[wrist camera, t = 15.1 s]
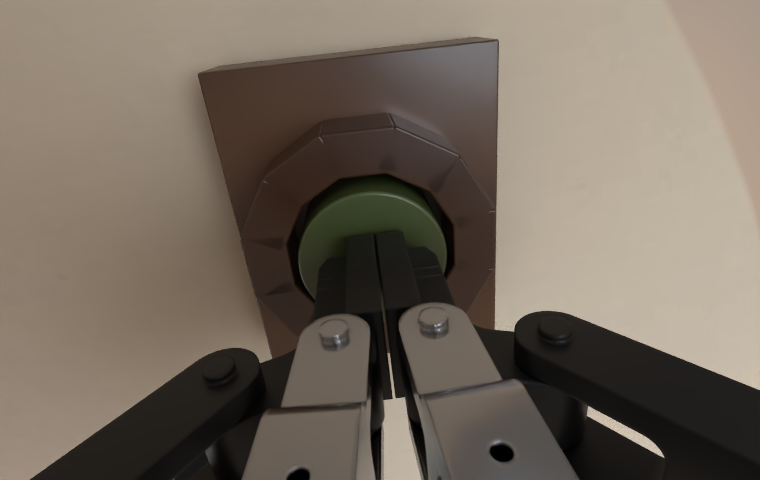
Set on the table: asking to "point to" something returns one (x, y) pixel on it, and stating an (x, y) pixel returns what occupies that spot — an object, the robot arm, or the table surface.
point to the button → (365, 222)
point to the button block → (359, 158)
